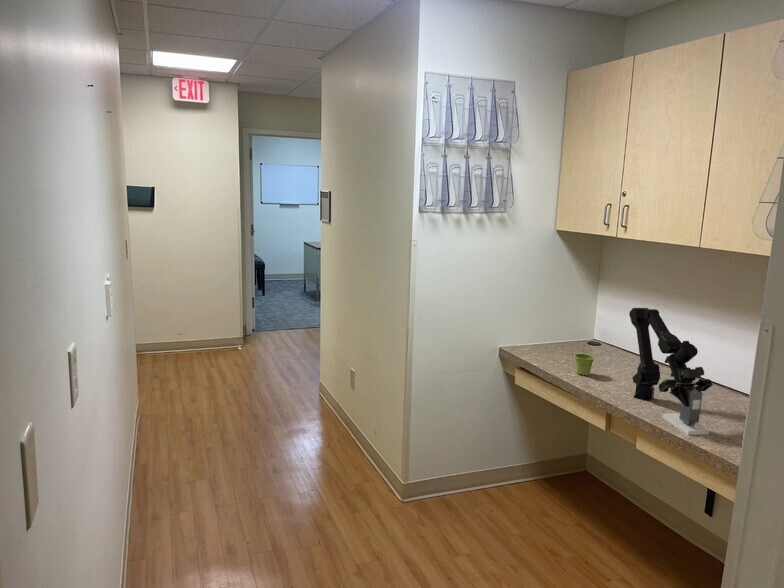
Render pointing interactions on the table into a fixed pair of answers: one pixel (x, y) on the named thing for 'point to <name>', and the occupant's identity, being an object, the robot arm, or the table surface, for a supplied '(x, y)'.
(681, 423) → the dock
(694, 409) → the block
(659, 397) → the table surface
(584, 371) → the plant pot
